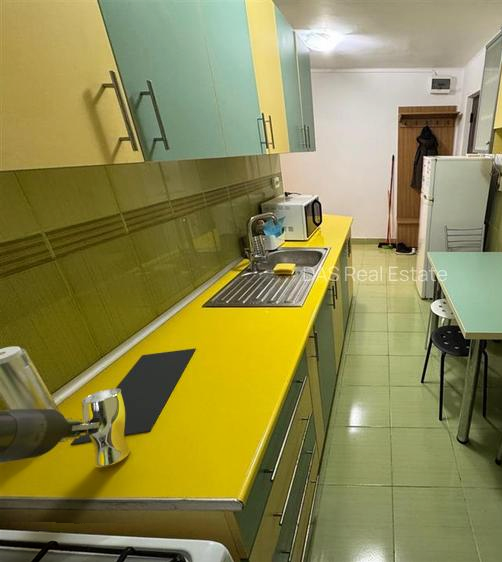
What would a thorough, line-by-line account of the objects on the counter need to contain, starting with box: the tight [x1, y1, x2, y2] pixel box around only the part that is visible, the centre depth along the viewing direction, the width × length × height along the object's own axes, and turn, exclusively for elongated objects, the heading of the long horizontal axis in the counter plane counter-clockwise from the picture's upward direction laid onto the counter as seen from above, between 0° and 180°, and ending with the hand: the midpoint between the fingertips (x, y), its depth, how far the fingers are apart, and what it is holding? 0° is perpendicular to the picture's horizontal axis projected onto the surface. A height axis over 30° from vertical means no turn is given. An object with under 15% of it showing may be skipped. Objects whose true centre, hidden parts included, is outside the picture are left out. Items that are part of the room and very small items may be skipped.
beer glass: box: [81, 387, 131, 468], centre depth 68 cm, size 7×7×15 cm
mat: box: [70, 347, 197, 446], centre depth 90 cm, size 17×36×1 cm, turn 13°
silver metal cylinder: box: [0, 346, 61, 413], centre depth 70 cm, size 6×6×25 cm
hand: (93, 428), depth 64 cm, fingers closed
